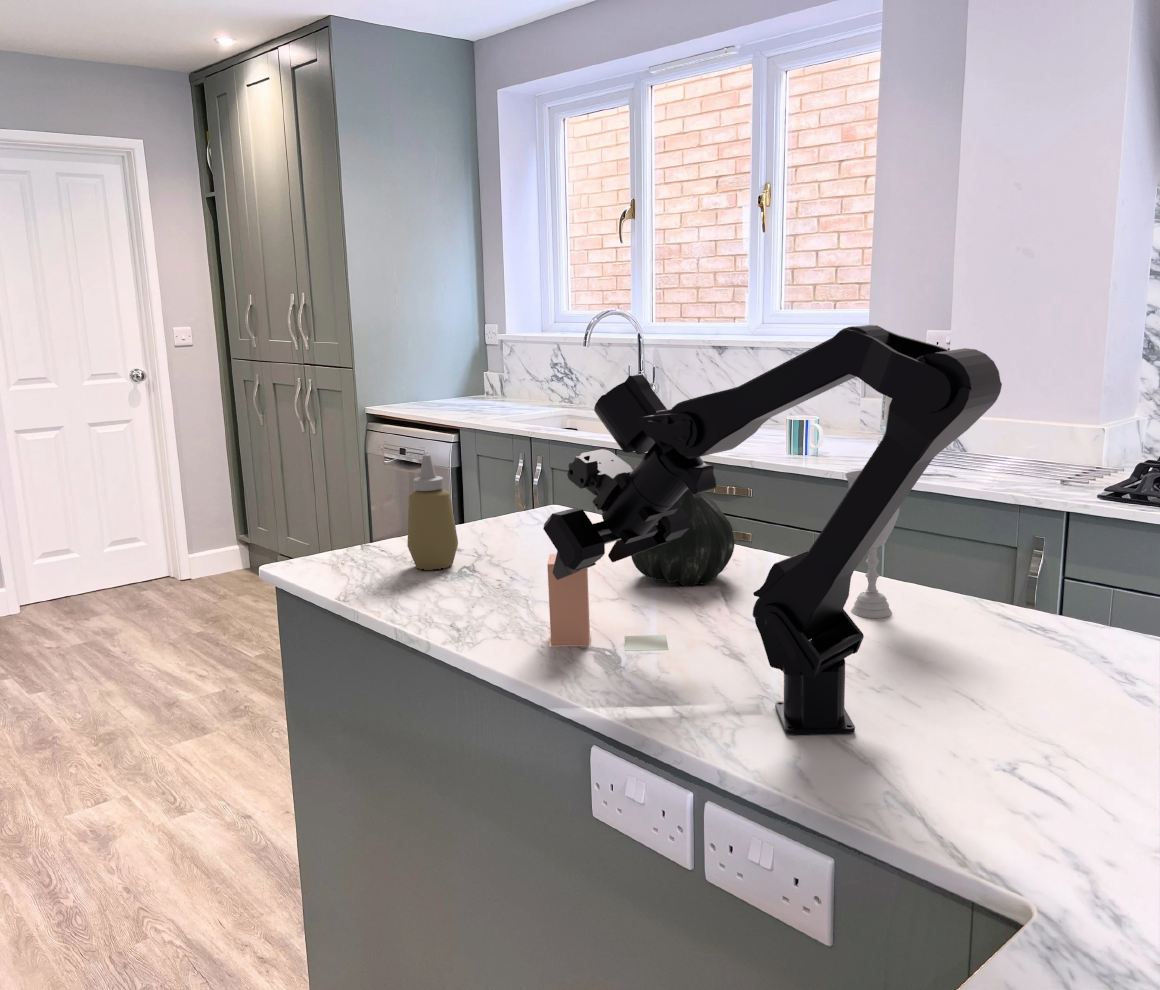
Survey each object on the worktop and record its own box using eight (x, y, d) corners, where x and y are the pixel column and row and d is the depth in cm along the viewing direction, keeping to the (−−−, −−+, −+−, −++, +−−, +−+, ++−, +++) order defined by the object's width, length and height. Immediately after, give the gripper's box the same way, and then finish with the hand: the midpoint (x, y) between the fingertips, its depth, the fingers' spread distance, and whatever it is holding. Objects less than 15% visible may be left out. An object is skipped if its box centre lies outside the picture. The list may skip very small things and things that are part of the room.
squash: (646, 526, 151) (633, 467, 140) (741, 532, 147) (736, 472, 136) (630, 604, 143) (615, 548, 132) (731, 612, 139) (724, 556, 128)
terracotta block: (589, 644, 113) (585, 563, 111) (551, 645, 113) (547, 564, 111) (589, 631, 118) (586, 553, 116) (553, 632, 118) (549, 554, 116)
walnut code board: (669, 659, 110) (668, 652, 110) (547, 662, 110) (547, 655, 110) (665, 635, 118) (665, 629, 118) (551, 638, 118) (551, 631, 118)
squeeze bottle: (403, 564, 155) (394, 454, 152) (451, 557, 159) (443, 449, 155) (416, 576, 148) (408, 461, 145) (466, 568, 151) (459, 456, 148)
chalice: (860, 623, 119) (863, 481, 116) (832, 607, 126) (834, 472, 122) (911, 616, 121) (916, 476, 118) (881, 600, 128) (884, 468, 124)
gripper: (668, 419, 111) (602, 500, 121) (552, 439, 98) (488, 528, 108) (723, 493, 107) (650, 570, 117) (610, 524, 94) (538, 608, 104)
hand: (584, 567), depth 112 cm, fingers open, 9 cm apart
